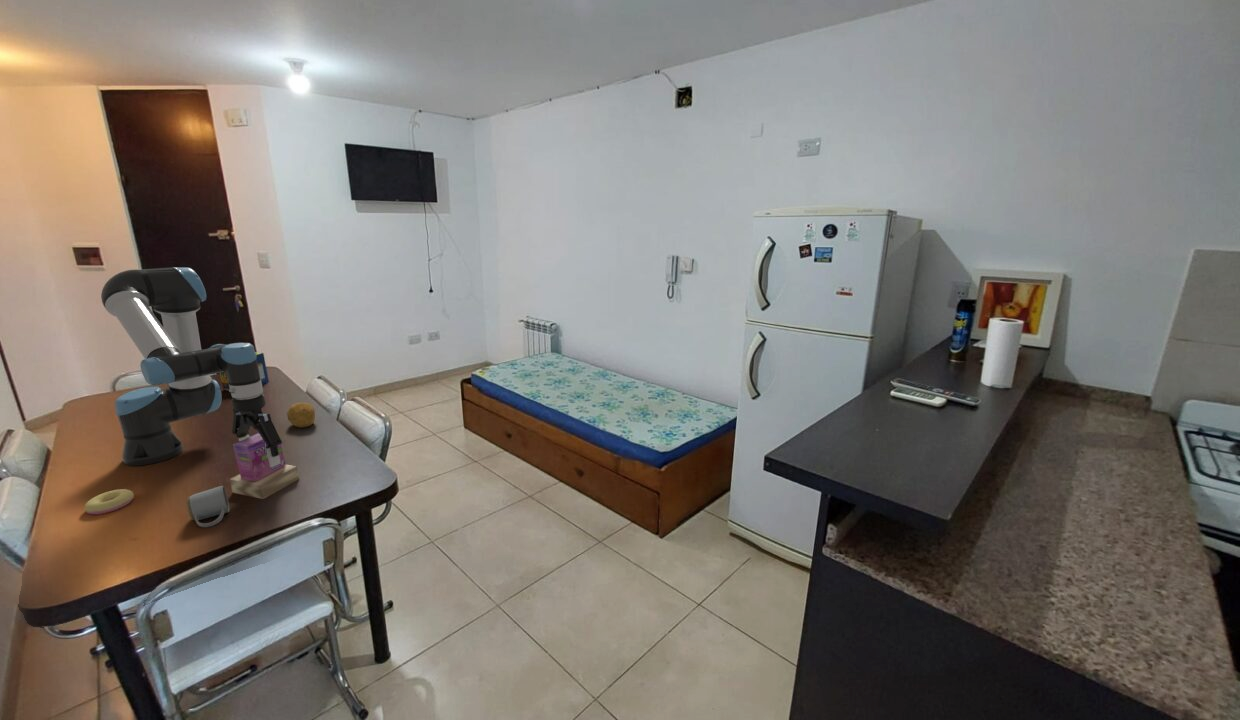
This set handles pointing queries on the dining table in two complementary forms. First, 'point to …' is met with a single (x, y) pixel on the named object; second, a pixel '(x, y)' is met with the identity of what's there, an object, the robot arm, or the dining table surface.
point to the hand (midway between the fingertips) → (261, 460)
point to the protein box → (261, 371)
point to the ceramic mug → (208, 505)
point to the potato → (301, 414)
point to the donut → (109, 501)
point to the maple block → (265, 482)
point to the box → (255, 458)
